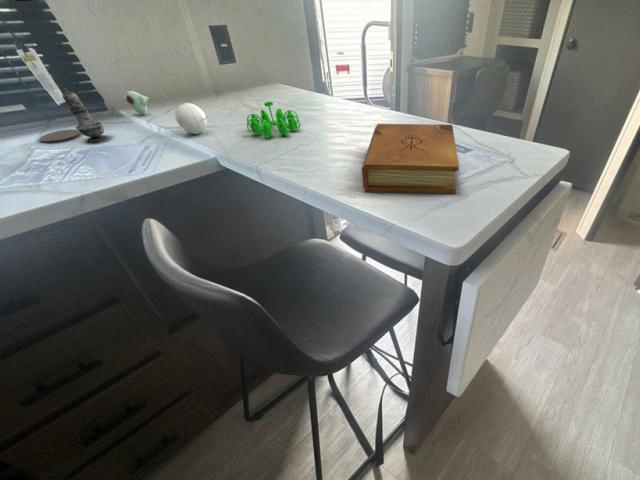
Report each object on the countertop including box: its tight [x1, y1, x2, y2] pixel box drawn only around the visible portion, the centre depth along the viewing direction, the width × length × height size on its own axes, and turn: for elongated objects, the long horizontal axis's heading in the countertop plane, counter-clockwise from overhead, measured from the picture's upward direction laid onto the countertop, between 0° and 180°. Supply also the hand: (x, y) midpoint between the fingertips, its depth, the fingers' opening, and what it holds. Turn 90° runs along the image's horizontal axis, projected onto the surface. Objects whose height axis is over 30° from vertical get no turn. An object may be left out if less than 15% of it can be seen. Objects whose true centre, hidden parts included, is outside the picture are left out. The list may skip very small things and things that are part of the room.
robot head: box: [123, 90, 150, 116], centre depth 98 cm, size 8×4×7 cm, turn 80°
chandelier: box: [246, 101, 301, 139], centre depth 87 cm, size 15×15×7 cm
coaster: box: [39, 128, 82, 144], centre depth 87 cm, size 9×9×1 cm
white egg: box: [174, 102, 208, 135], centre depth 87 cm, size 10×7×7 cm
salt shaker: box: [62, 87, 111, 144], centre depth 81 cm, size 6×6×12 cm
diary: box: [361, 123, 460, 195], centre depth 69 cm, size 23×19×6 cm
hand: (6, 2), depth 62 cm, fingers open, 9 cm apart
